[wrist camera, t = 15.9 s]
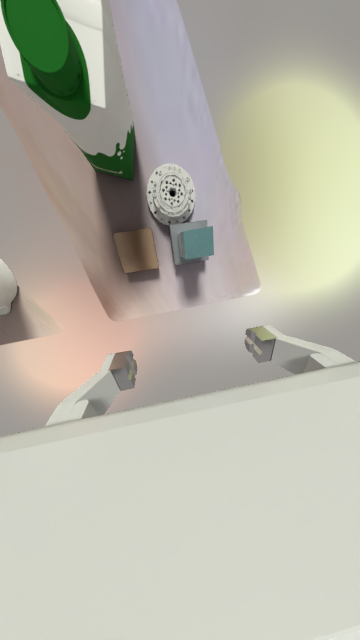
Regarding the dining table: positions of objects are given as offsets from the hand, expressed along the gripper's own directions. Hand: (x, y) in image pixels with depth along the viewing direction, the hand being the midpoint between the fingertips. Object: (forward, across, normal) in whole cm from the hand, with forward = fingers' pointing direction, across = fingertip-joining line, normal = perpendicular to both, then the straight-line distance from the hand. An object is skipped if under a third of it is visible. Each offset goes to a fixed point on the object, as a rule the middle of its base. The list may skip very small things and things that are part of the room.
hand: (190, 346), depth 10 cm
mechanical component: (+32, -3, -15) cm, 35 cm away
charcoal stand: (+31, -6, -6) cm, 32 cm away
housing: (+28, -6, -6) cm, 29 cm away
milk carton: (+31, +6, -23) cm, 39 cm away
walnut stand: (+31, +6, -6) cm, 32 cm away
